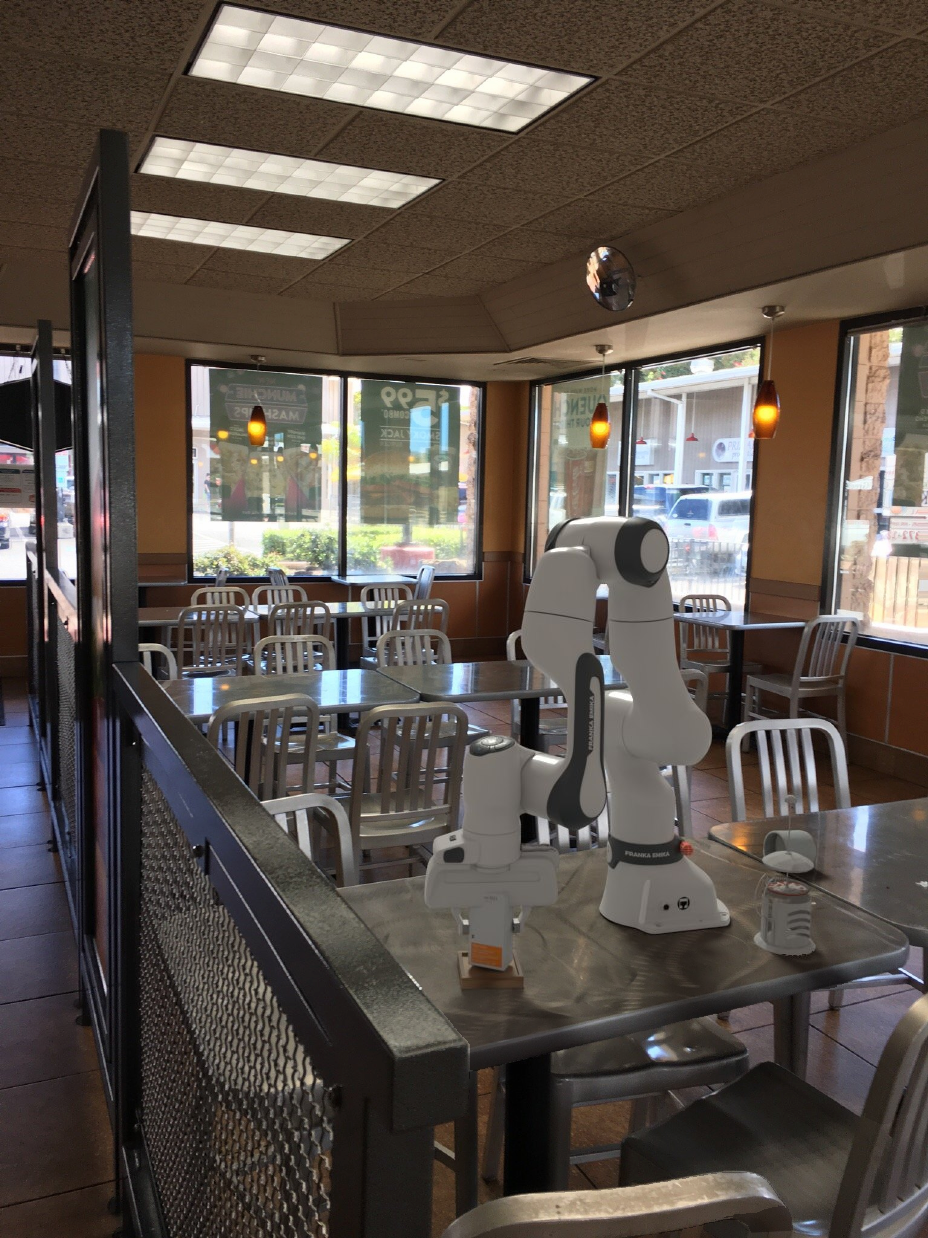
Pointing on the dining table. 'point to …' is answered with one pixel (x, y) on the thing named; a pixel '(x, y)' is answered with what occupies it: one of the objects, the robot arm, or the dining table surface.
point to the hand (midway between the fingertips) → (490, 932)
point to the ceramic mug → (791, 843)
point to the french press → (786, 904)
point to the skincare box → (491, 932)
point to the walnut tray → (489, 974)
